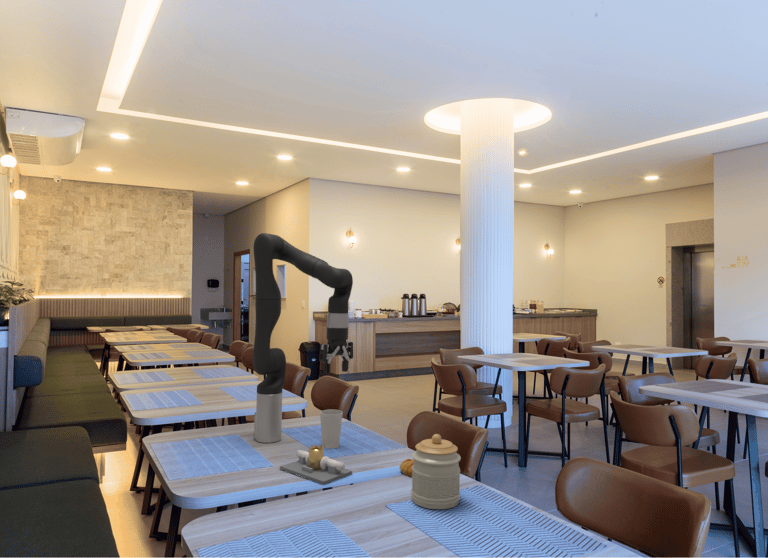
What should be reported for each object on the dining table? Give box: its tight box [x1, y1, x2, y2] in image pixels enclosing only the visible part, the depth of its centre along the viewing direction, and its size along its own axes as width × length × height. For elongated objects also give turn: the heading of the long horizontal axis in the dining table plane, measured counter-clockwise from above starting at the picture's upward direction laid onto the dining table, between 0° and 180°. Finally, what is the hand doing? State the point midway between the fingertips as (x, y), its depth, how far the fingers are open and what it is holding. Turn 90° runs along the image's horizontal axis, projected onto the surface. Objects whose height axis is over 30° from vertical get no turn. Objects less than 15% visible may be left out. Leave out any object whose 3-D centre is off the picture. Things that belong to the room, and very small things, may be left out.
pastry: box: [399, 458, 414, 478], centre depth 163 cm, size 9×7×4 cm
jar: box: [410, 433, 462, 510], centre depth 144 cm, size 13×13×18 cm
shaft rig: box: [279, 449, 353, 486], centre depth 163 cm, size 19×12×5 cm, turn 51°
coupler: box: [308, 444, 325, 471], centre depth 164 cm, size 4×4×7 cm
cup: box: [319, 409, 344, 450], centre depth 190 cm, size 8×8×12 cm
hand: (336, 372), depth 186 cm, fingers open, 8 cm apart
